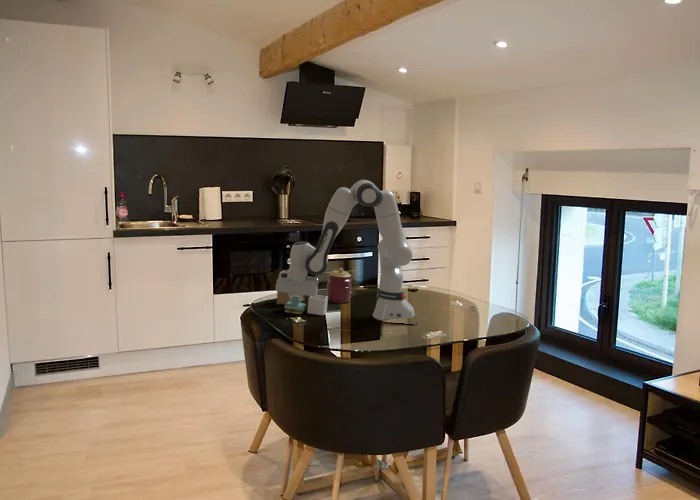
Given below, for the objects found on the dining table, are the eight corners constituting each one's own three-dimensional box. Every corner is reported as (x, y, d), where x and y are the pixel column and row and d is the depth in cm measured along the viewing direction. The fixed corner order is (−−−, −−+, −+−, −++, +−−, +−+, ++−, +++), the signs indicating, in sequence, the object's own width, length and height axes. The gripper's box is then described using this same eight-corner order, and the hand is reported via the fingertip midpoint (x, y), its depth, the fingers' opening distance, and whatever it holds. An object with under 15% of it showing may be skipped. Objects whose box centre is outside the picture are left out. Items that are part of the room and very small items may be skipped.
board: (304, 310, 311) (304, 308, 310) (300, 315, 303) (300, 313, 303) (288, 308, 312) (288, 306, 311) (284, 312, 304) (284, 310, 304)
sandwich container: (306, 301, 328) (308, 273, 325) (290, 307, 314) (293, 278, 311) (291, 298, 331) (294, 270, 329) (276, 304, 318) (278, 274, 315)
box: (326, 312, 312) (328, 296, 311) (323, 316, 304) (325, 300, 303) (310, 309, 313) (312, 294, 312) (307, 314, 305) (308, 298, 304)
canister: (349, 304, 329) (353, 271, 326) (324, 302, 329) (328, 269, 326) (350, 298, 342) (353, 266, 338) (326, 295, 342) (329, 263, 338)
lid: (305, 305, 310) (306, 295, 309) (301, 310, 302) (302, 300, 301) (288, 303, 311) (289, 293, 310) (284, 307, 303) (285, 297, 302)
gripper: (320, 276, 305) (317, 303, 308) (279, 270, 308) (277, 298, 311) (317, 279, 299) (315, 307, 302) (275, 273, 302) (273, 301, 305)
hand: (295, 302), depth 306 cm, fingers closed on lid, 2 cm apart
